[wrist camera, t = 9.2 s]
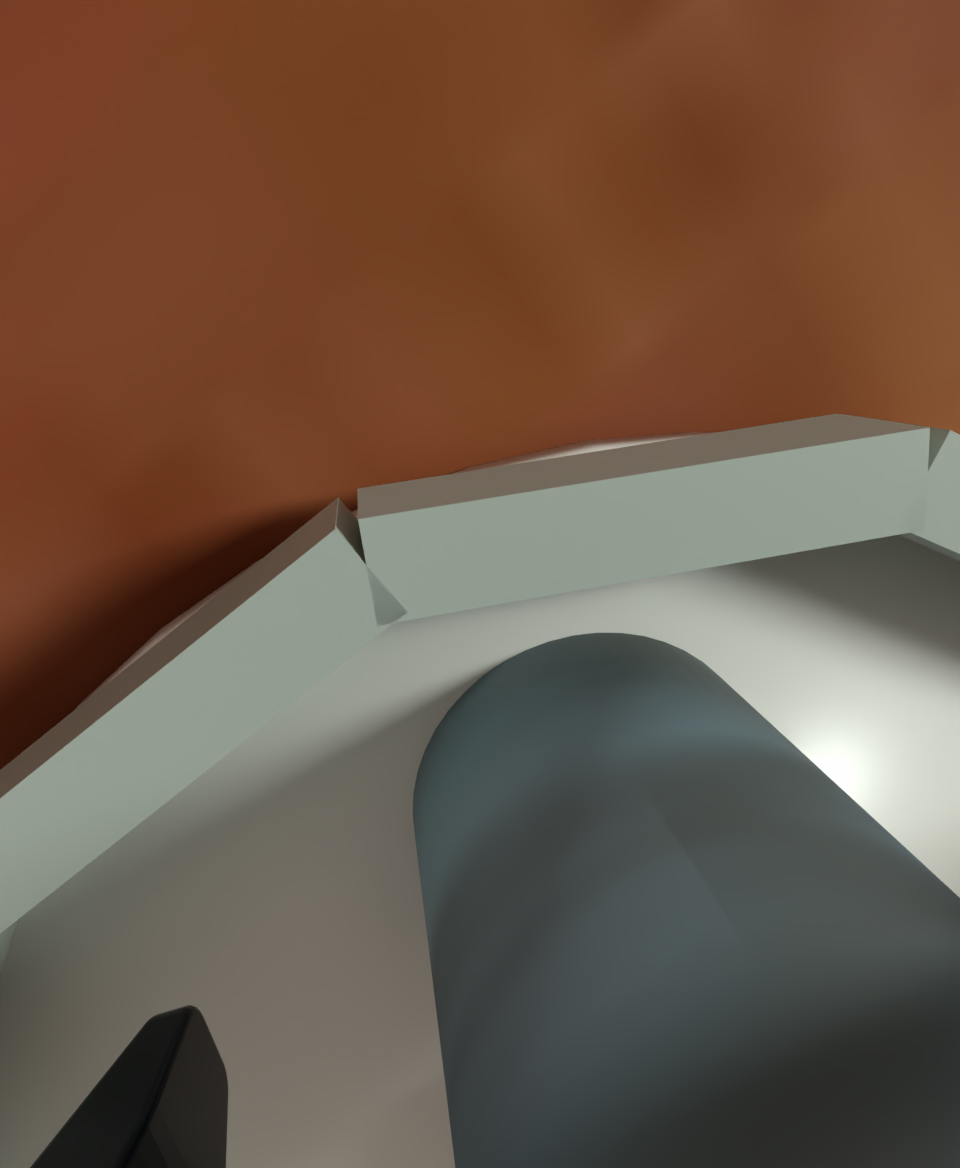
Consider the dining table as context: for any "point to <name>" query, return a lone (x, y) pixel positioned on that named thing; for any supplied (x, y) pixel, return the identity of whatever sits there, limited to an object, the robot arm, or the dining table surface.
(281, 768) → the tray
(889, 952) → the blue-grey short cylinder
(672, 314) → the dining table surface
